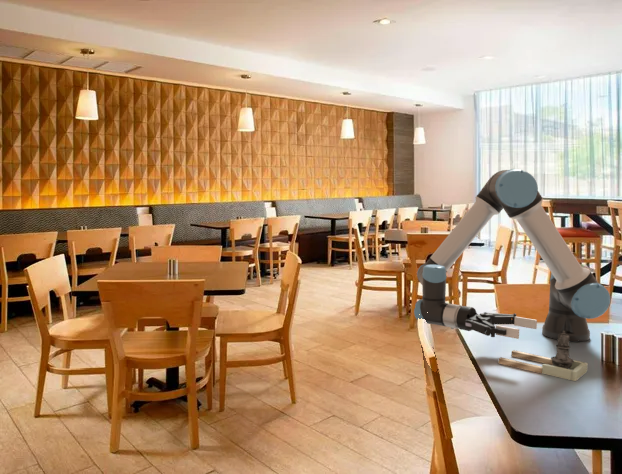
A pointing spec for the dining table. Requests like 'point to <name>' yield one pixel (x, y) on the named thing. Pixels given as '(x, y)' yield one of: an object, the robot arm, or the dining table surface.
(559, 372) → the socket
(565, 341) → the dark stone chess piece
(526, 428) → the dining table surface
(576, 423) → the dining table surface
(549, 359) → the channel
